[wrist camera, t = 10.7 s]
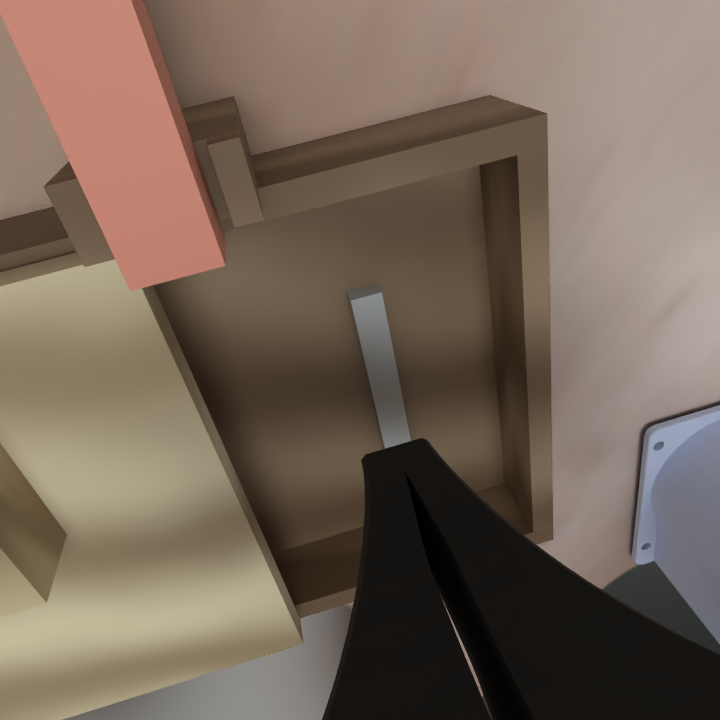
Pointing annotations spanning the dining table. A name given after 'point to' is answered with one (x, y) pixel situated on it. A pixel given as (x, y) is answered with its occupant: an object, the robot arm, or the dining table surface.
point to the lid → (116, 505)
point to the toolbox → (359, 316)
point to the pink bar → (121, 132)
